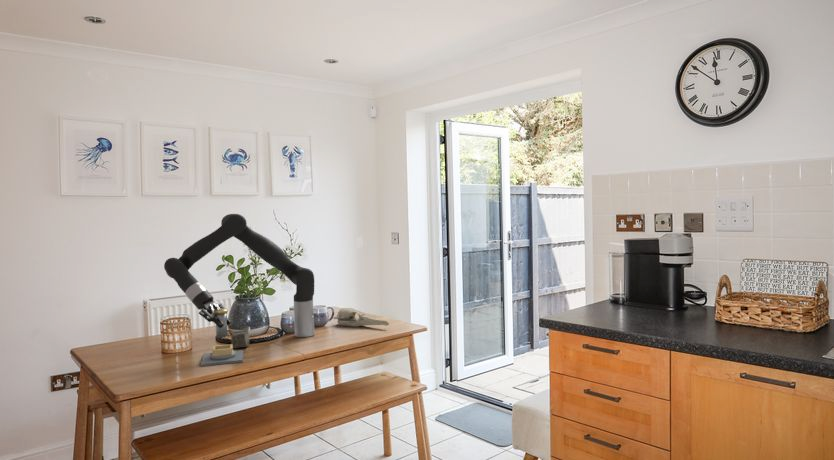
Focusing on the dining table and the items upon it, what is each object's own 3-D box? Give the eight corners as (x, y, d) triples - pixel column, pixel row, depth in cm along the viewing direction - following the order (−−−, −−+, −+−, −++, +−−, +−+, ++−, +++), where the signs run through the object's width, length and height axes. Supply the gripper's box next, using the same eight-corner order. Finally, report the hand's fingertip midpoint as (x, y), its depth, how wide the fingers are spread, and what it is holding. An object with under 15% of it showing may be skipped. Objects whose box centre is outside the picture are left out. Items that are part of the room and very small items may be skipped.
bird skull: (386, 326, 269) (383, 306, 269) (334, 328, 284) (332, 310, 284) (394, 323, 276) (392, 304, 276) (344, 325, 291) (341, 307, 292)
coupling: (228, 334, 227) (227, 308, 227) (228, 337, 222) (227, 310, 222) (215, 335, 226) (214, 308, 225) (214, 338, 221) (213, 311, 220)
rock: (225, 333, 252) (246, 325, 257) (229, 346, 253) (250, 338, 257) (230, 339, 237) (252, 330, 241) (235, 353, 238) (257, 344, 242)
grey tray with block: (243, 352, 235) (243, 340, 234) (242, 362, 219) (242, 350, 219) (204, 355, 230) (203, 344, 230) (200, 366, 215) (200, 354, 214)
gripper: (193, 292, 218) (221, 323, 216) (214, 287, 232) (240, 315, 230) (182, 305, 220) (209, 335, 217) (204, 299, 234) (230, 327, 231)
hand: (225, 325), depth 224 cm, fingers closed on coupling, 4 cm apart
